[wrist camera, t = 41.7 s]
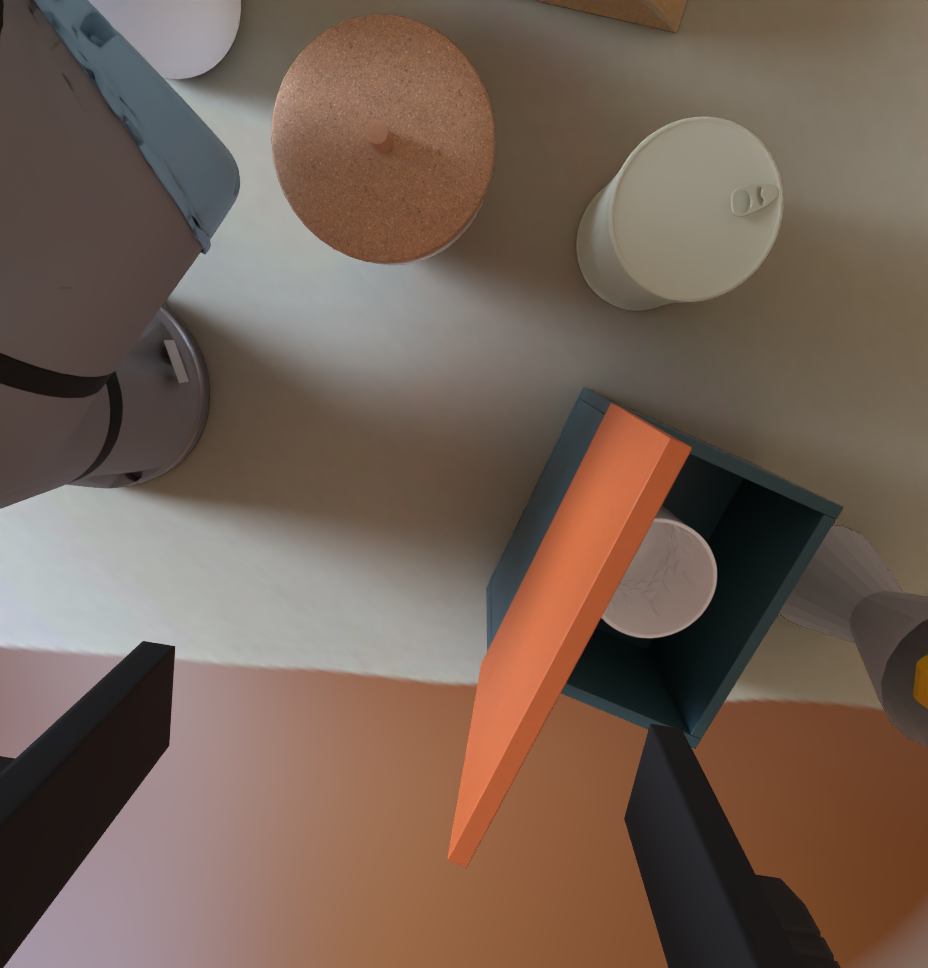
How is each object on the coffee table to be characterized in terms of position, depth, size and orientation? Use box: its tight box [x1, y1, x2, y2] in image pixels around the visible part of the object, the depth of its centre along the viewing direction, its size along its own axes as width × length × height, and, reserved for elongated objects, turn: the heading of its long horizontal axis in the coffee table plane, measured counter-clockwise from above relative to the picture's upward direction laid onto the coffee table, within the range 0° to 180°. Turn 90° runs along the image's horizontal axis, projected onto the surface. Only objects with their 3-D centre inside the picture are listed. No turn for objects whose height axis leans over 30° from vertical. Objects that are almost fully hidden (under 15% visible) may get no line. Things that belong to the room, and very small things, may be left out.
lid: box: [448, 403, 692, 868], centre depth 29 cm, size 15×18×1 cm
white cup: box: [601, 506, 717, 638], centre depth 43 cm, size 8×8×10 cm
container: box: [487, 388, 843, 749], centre depth 43 cm, size 15×18×12 cm
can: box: [576, 116, 784, 311], centre depth 38 cm, size 9×9×12 cm
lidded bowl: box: [271, 14, 496, 265], centre depth 38 cm, size 13×13×11 cm
